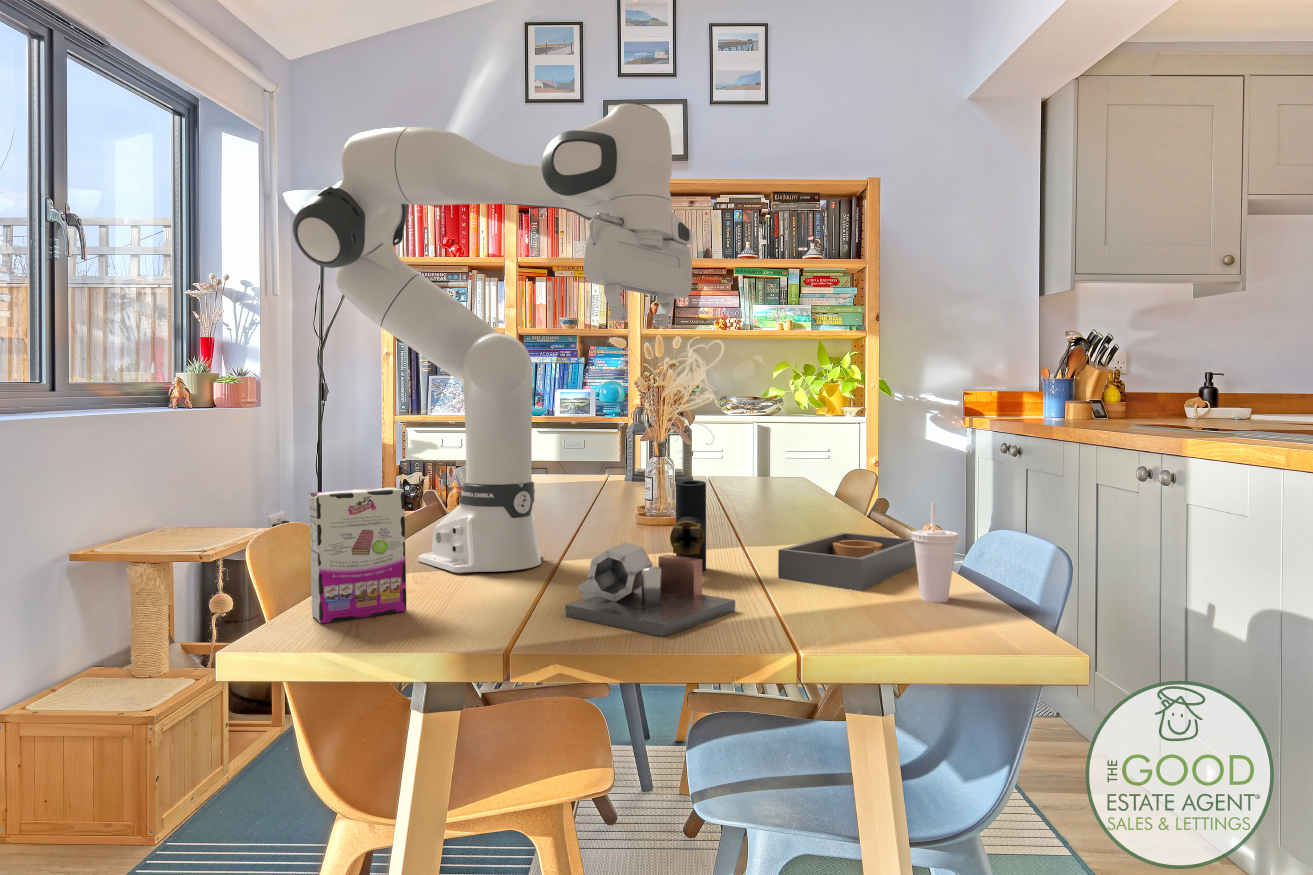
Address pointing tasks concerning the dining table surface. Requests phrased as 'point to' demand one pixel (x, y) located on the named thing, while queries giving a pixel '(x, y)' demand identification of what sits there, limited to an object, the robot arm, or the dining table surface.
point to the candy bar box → (357, 553)
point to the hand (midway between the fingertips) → (640, 323)
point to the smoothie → (934, 560)
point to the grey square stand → (658, 601)
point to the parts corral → (845, 562)
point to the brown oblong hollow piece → (855, 548)
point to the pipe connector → (690, 521)
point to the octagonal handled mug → (615, 572)
